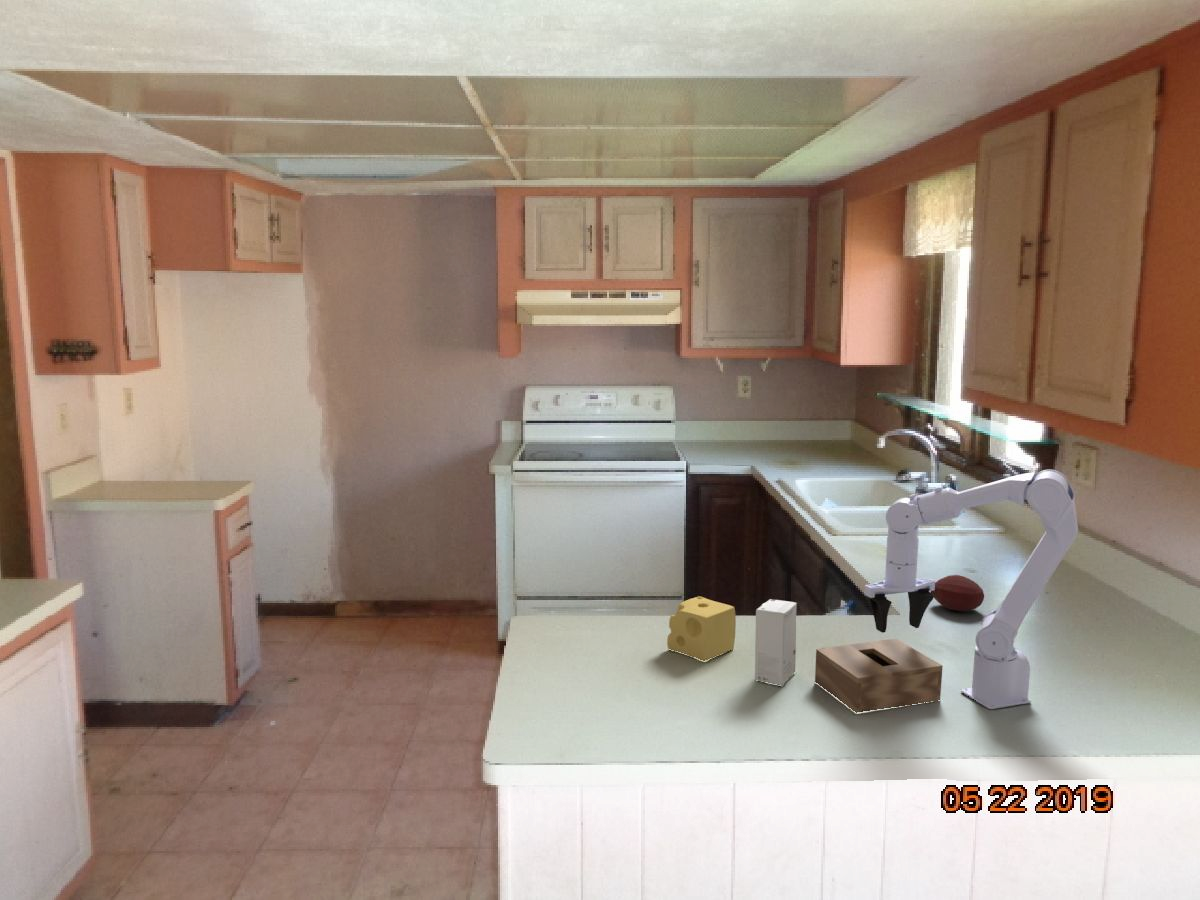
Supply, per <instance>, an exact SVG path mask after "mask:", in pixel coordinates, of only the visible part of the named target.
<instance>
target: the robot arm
mask: <svg viewBox="0 0 1200 900" xmlns="http://www.w3.org/2000/svg"><path fill="white" fill-rule="evenodd" d="M1075 498H1076V497H1075V491H1074V489H1073V487H1072V485H1071V484H1070V482H1069V480H1068V478H1067V476H1066V475H1065V474H1063V473H1062V472H1060V471H1058V470H1055V469H1044V470H1041V471H1039V472H1037V473H1036V472H1035V471H1033V472H1025V473H1021V474H1016V475H1013V476H1012V475H1011V476H1008V477H1005V478H1003V479H1000V480H999V479H998V480H995V481H992V482H989V483H985V484H982V485H979V486H975V487H972V488H968V489H965V490H961V491H957V490H956V489H953V488H952V487H946V488H944V487H943V485H940V486H936V487H935V488H934V491H930V492H927V493H923V494H919V495H917V494H915V493H913V494H910V495H909V497H901V498H899V499H896V501H895V502H893V503H892V504H891V505H890V506H889V507H888V509H887V510H886V513H885V521H886V524H887V525H888V529H887V532H888V533H887V537H886V551H885V552H886V553H885V572H884V573H885V574H884V578H883V580H880V581H878V582H874V583H871V584H865V585H864V595H865V598H866V600H867V602H868V605H869V606H870V609H871V611H872V612H871V613H872V615H873V618H874V623H875V629H876V630H877V631H878V632H880V633H882V634H883V633H886V632H887V625H888V616H889V611H890V608H891V605H892V601H891V600H890V599H888V598H887V596H886V595H893V594H894V595H896V594H903V593H907V597H908V603H909V604H908V605H909V613H908V615H909V616H908V617H909V618H908V622H909V626H910V627H911V626H912V627H913V628H915V629H919V628H920V625H921V622H922V620H923V617H924V615H925V613H926V610H927V608H928V607H929V605H930V604H931V602H932V601H933V600H934V599H935V598H934V594H933V593H931V591H933V590H935V582H936V581H935V580H934V579H932V578H929V577H927V578H924V577H923V578H917V575H918V574H917V572H918V556H919V541H920V540H919V539H920V538H919V525H921V526H928V525H933V524H936V523H940V522H944V521H948V520H952V519H956V518H959V517H960V516H961V514H962V512H963V510H964V509H969V508H973V507H980V506H985V505H989V504H993V503H998V502H1003V501H1010V502H1013V503H1015V504H1018V505H1020V506H1024V505H1025V504H1026V502H1027V503H1028V505H1029V506H1030V508H1031V509H1032V510H1033V511H1034V512H1035V513H1036V514H1037V515H1038V516H1039V518H1040V520H1041V522H1042V525H1043V527H1044V531H1045V532H1044V534H1043V535H1042V536H1041V538H1040V540H1039V541H1038V543H1037V544H1036V546H1035V548H1034V549H1033V551H1032V552H1031V554H1030V555H1029V557H1028V559H1027V560H1026V561H1025V564H1024V565H1023V567H1022V569H1021V570H1020V572H1019V573H1018V575H1017V577H1015V580H1014V581H1013V583H1012V585H1011V586H1010V588H1009V589H1008V591H1007V593H1006V594H1005V596H1004V597H1003V598H1002V600H1001V601H1000V602H999V604H998V605H997V607H996V608H995V609H994V610H993V611H991V612H989V613H987V614H986V615H985V616H984V617H983V619H982V621H981V626H980V629H979V630H978V632H976V633H977V634H975V635H976V636H975V646H974V655H973V656H974V657H973V669H972V680H971V681H972V683H971V687H968V688H962V689H961V690H960V692H961V693H962V694H963V693H964V695H965V696H967V697H968V696H969V697H968V698H970V699H972V700H973V699H974V700H973V701H975V700H976V701H975V702H977V703H978V704H980V705H982V706H983V707H985V708H987V709H988V710H995V709H1000V708H1007V707H1008V708H1009V707H1012V706H1017V705H1019V706H1020V705H1024V704H1025V705H1026V704H1031V703H1032V699H1030V698H1029V690H1030V689H1029V688H1030V679H1031V678H1030V676H1031V675H1030V674H1031V667H1030V666H1031V665H1030V662H1029V659H1028V658H1027V656H1026V655H1025V654H1024V652H1022V651H1021V650H1019V649H1016V648H1015V646H1014V643H1015V639H1016V637H1017V635H1018V633H1019V629H1020V627H1021V625H1022V624H1023V621H1024V620H1025V618H1026V616H1027V614H1028V613H1029V611H1030V610H1031V608H1032V607H1033V604H1035V602H1036V601H1037V599H1038V597H1039V596H1040V594H1041V593H1042V591H1043V590H1044V588H1045V586H1046V585H1047V584H1048V581H1049V580H1050V579H1051V577H1052V575H1053V574H1054V572H1055V571H1056V569H1057V568H1058V566H1059V564H1060V563H1061V562H1062V560H1063V558H1064V557H1065V556H1066V554H1067V552H1068V551H1069V548H1070V547H1071V546H1072V545H1073V543H1074V541H1075V540H1076V538H1077V536H1078V533H1079V532H1078V531H1079V526H1078V519H1077V518H1078V517H1077V510H1076V509H1077V508H1076V503H1075V502H1076V500H1075Z"/></svg>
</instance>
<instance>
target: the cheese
mask: <svg viewBox="0 0 1200 900" xmlns="http://www.w3.org/2000/svg"><path fill="white" fill-rule="evenodd" d="M736 619H737V617H736V610H735V606H733V605H730V604H726V603H724V602H723V603H722V602H719V601H714V600H712V599H708V598H706V597H703V596H699V595H698V596H696V597H693V598H689V599H687V600H684V601H682V602H680V603H679V604H678V608H677V611H676V612H675V614H671V616H670V618H669V621H668V627H669V629H670V633H669V634H668V635H667V649H668V650H669V649H671V650H674V651H678V652H681V653H684V654H687V655H689V656H692V657H696V658H698V659H700V660H703V661H705V660H708V659H710V658H713V657H715V656H717V655H720V654H722V653H725V652H727V651H729V652H731V651H733V650H734V647H735V639H736V622H737V621H736ZM732 649H733V650H732ZM730 650H731V651H730ZM727 653H728V652H727ZM725 654H726V653H725Z"/></svg>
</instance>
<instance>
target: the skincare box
mask: <svg viewBox="0 0 1200 900" xmlns="http://www.w3.org/2000/svg"><path fill="white" fill-rule="evenodd" d="M797 605H798V603H797V602H794V601H787V600H780V599H771V598H770V599H768V600H767V601H766V602H764V603H762V604H761V605H760V606H759V607H758V608H756V610H755V642H754V643H755V650H754V651H755V652H754V653H755V655H754V657H755V658H754V681H755V680H758V681H763V682H768V683H772V684H777V685H781V686H783V685H785V684H786V683H787V682H788V680H789V679H790V678H791V677H792V676H793V675H792V674H793V673H794V672H795V673H796V660H797V659H796V654H797V651H796V649H797V647H796V646H797ZM791 675H792V676H791ZM790 676H791V677H790ZM789 677H790V678H789ZM788 678H789V679H788ZM787 679H788V680H787ZM786 681H787V682H786ZM785 682H786V683H785ZM784 683H785V684H784ZM783 687H784V686H783Z"/></svg>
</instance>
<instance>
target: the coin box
mask: <svg viewBox="0 0 1200 900" xmlns="http://www.w3.org/2000/svg"><path fill="white" fill-rule="evenodd" d="M815 650H816V651H815V667H814V669H815V671H814V672H815V673H814V677H815V678H814V683H815V682H816V683H818V684H819V685H820V686H822V687H823V688H824V689H826V690H827V691H828V692H830V693H831V694H833V695H834V696H835V697H837V698H838V699H839V700H840V701H842V702H843V703H844V704H846V705H847V706H848V707H849V708H851V709H852V710H853V711H855V712H856V713H857V712H863V711H870V710H877V709H884V708H891V707H899V706H905V705H912V704H918V703H924V702H925V703H926V702H931V701H938V700H940V701H941V695H942V693H941V692H942V681H943V680H942V679H943V664H941V663H939V662H938V661H935V660H934V659H932V658H930V657H928V656H927V655H925V654H923V652H920V651H918V650H916V649H915V648H913V647H911V646H909V645H908V644H906V643H904V642H903V641H901V640H899V639H897V638H890V639H882V640H881V639H880V640H875V641H868V642H861V643H859V642H858V643H853V644H845V645H837V646H830V647H823V648H816V649H815ZM938 702H939V701H938ZM926 704H927V703H926Z"/></svg>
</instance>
